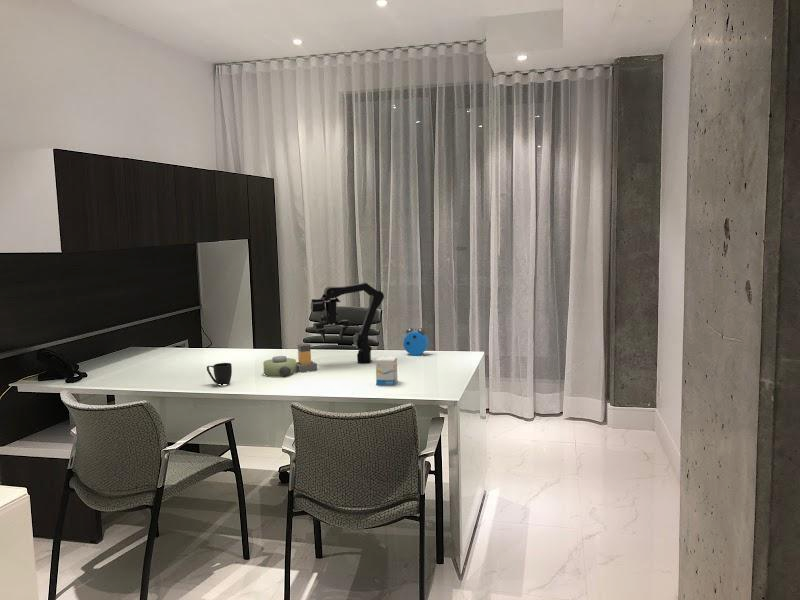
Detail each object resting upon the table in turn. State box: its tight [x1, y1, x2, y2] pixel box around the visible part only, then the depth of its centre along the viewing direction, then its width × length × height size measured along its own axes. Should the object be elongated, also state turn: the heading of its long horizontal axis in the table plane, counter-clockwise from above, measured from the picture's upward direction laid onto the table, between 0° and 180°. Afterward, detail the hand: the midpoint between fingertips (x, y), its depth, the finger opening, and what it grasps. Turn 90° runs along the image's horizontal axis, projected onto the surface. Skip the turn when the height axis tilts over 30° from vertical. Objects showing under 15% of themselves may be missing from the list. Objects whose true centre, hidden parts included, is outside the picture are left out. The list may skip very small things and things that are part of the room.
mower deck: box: [262, 355, 318, 378], centre depth 327 cm, size 26×20×8 cm
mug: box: [206, 362, 233, 385], centre depth 305 cm, size 8×12×10 cm
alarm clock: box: [402, 327, 429, 356], centre depth 360 cm, size 13×6×15 cm, turn 74°
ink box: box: [375, 355, 398, 386], centre depth 297 cm, size 9×8×12 cm
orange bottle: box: [297, 343, 312, 365], centre depth 330 cm, size 5×5×13 cm
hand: (332, 340), depth 338 cm, fingers open, 9 cm apart
